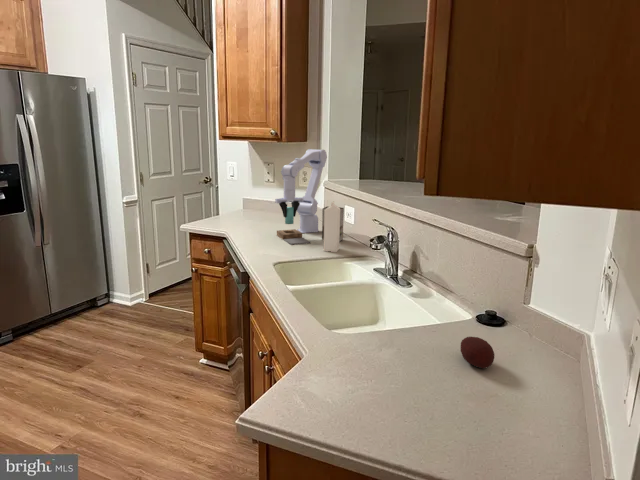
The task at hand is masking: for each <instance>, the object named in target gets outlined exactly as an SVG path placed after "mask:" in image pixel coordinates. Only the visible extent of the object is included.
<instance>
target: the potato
mask: <svg viewBox="0 0 640 480" xmlns="http://www.w3.org/2000/svg"><path fill="white" fill-rule="evenodd" d="M459 351H460V353H461V356H462V358H463V359H464V360H465V361H466V362H467V363H468V364H470V365H471V364H472V366H473V365H474V366H473V367H475V366H477V367H476V368H478V367H481V368H480V369H487V368H489V367H490V366H491V365H492V364H493V363H494V361H495V352H494V350H493V347H492V346H491V344H489V343H488V341H487V340H485V339H483V338H482V337H481V338H480V337H478V336H477V337H476V336H467V337H464V338H463V339H461V341H460V350H459ZM486 367H487V368H486Z"/></svg>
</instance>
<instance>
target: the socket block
mask: <svg viewBox="0 0 640 480" xmlns="http://www.w3.org/2000/svg"><path fill="white" fill-rule="evenodd" d="M276 236H277V237H278V238H280V239H281V240H283V241H284V239H290V238H303V233H301V232H300V231H298V230H297V229H283V230H282V229H281V230H276Z"/></svg>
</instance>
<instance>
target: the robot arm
mask: <svg viewBox="0 0 640 480" xmlns="http://www.w3.org/2000/svg"><path fill="white" fill-rule="evenodd" d="M327 158H328V155H327V152H326V150H325V149H315V148H308V149H307V150H306V151H305V153H304V154H303V155H302V156H301V157H299V158H298V157H295V158H294V160H293V161H291V162H289V164H285V165H283V166H282V167H281V171H280V174H281V176H282V180H283V197H281V198H275V201H274V202H275V203H274V204H278V205H279V206H280V209H281V211H282V215H283V218H285V217H287V207H288V203H291V207H293V208H294V218H295V217H296V215H297V214H298V215H299V228H298V229H296V230H297V231H299V232H301V233H302V234H307V233H318V232H319V217H318V215H317V214H316V213H317V211H318V204H319V202H318V201H317V200H316V198H315V197H316V194H317V191H318V187H319V184H320V179H321V176H322V173H323V170H324V168H325V165H326V163H327ZM307 163H308V164H309V166H310V167H311V168H312V169H311V173H310V178H309V180H308V183H307V186H306V191H305V193H304V195H303V196H302V197H296V177H297V176H298V174H299V172H300V171H301V170H302V169H304V168H305V164H307Z"/></svg>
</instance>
